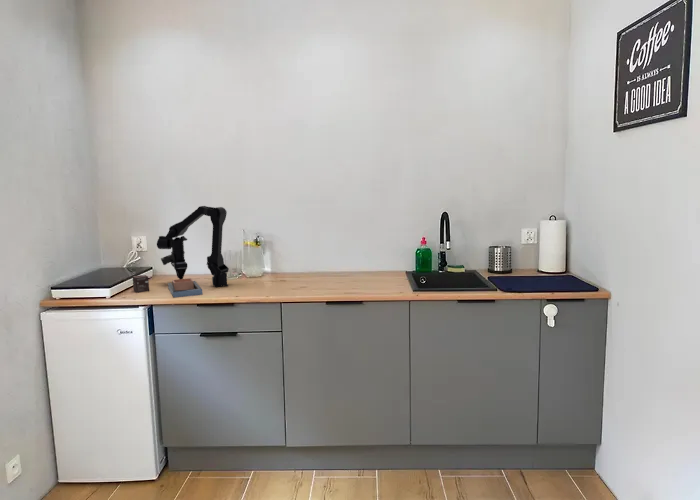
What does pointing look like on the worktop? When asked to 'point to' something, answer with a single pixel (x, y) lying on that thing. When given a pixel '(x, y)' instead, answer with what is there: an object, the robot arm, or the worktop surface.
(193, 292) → the crate bay
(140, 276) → the box
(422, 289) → the worktop surface
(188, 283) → the crate
